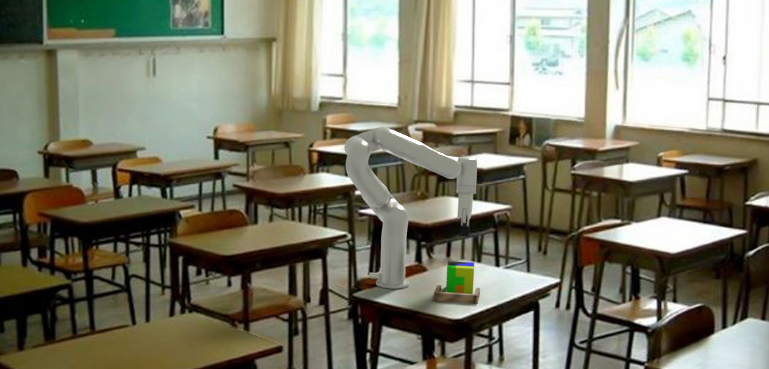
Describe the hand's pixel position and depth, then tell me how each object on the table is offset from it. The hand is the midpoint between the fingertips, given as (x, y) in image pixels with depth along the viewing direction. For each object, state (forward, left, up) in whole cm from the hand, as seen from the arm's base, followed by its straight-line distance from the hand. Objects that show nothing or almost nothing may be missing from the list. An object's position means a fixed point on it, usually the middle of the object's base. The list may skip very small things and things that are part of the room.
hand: (464, 235), depth 412 cm
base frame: (0, -23, -19) cm, 30 cm away
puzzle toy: (0, -11, -19) cm, 22 cm away
